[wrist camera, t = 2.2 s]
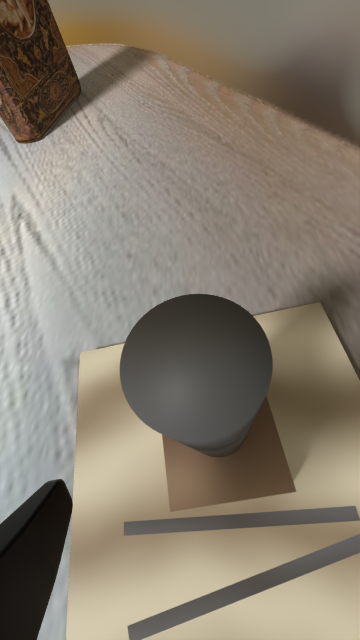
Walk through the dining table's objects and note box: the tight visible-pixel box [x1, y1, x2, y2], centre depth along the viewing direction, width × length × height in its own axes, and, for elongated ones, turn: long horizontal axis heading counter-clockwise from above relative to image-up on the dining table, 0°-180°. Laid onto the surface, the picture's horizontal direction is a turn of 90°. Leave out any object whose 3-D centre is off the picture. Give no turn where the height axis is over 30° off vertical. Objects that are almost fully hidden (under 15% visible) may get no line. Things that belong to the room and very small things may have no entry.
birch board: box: [66, 302, 360, 640], centre depth 14 cm, size 24×18×1 cm
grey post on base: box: [120, 294, 296, 512], centre depth 11 cm, size 7×6×12 cm
